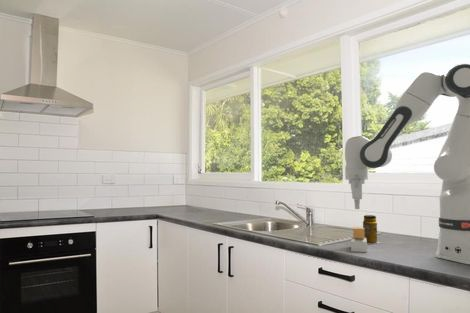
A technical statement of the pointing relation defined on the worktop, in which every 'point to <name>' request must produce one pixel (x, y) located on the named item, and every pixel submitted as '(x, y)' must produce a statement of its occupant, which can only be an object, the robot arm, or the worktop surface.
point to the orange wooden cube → (358, 232)
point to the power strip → (358, 244)
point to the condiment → (370, 229)
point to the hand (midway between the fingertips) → (357, 208)
